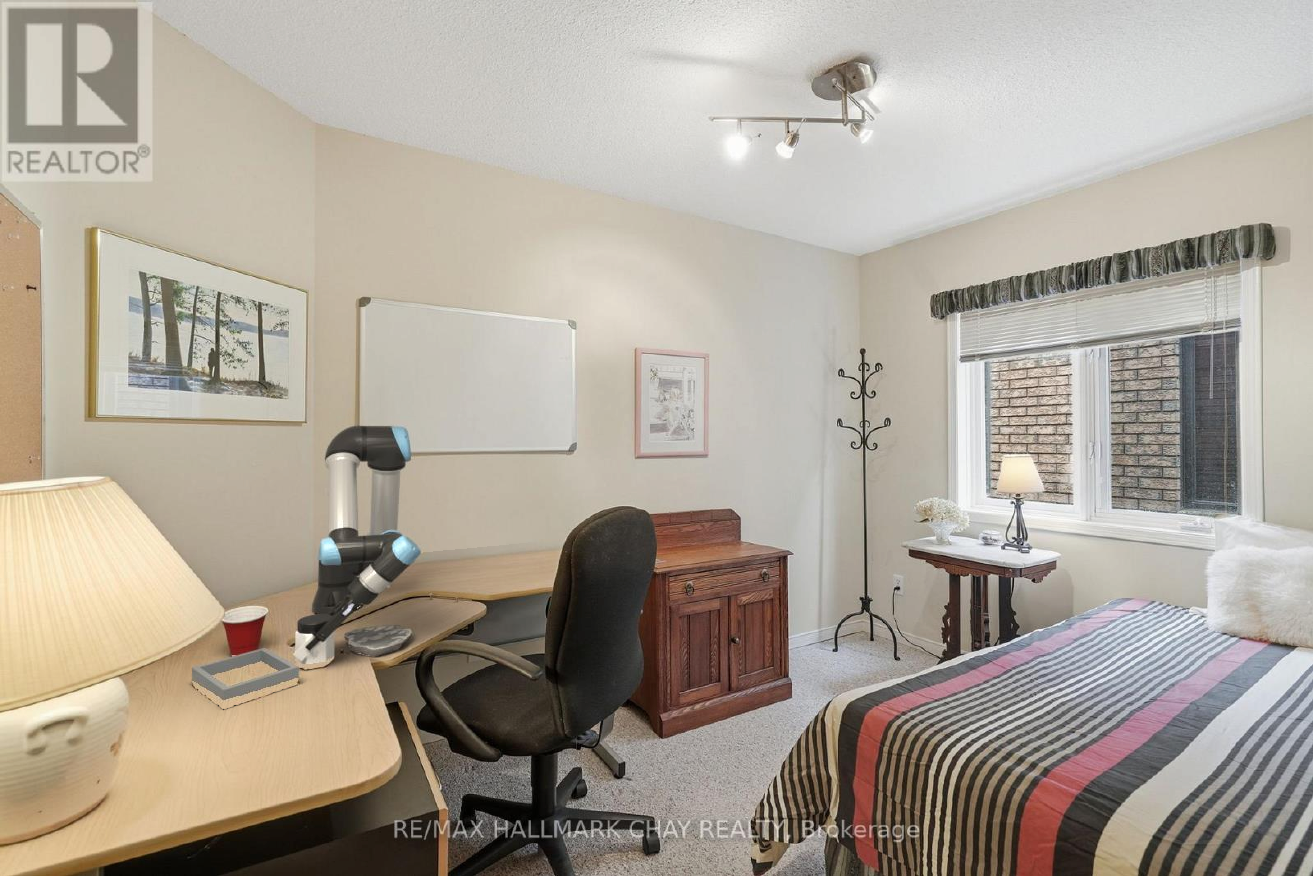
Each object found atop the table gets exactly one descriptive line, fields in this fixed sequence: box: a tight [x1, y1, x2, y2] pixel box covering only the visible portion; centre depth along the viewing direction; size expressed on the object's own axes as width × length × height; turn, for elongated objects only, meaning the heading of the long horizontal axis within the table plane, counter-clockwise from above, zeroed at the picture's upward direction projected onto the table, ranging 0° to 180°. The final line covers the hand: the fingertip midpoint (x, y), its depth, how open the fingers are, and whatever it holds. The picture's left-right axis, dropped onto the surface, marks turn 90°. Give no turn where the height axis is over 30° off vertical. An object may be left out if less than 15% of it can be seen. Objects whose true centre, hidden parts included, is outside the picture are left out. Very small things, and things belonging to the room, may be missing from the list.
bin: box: [191, 647, 300, 700], centre depth 142 cm, size 19×16×4 cm
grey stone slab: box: [343, 624, 413, 657], centre depth 169 cm, size 20×17×3 cm
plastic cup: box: [220, 605, 269, 656], centre depth 159 cm, size 11×11×12 cm
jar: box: [294, 613, 336, 664], centre depth 155 cm, size 9×8×12 cm
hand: (300, 650), depth 153 cm, fingers closed on jar, 8 cm apart
